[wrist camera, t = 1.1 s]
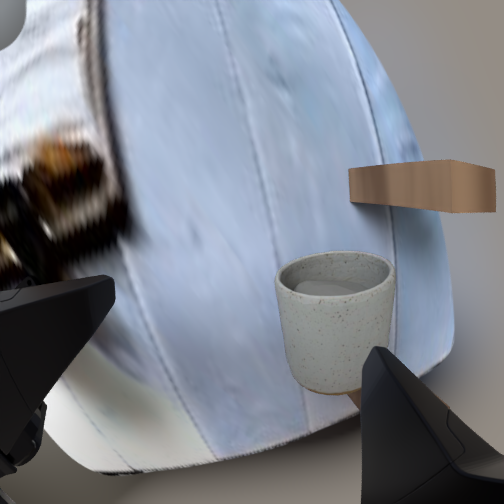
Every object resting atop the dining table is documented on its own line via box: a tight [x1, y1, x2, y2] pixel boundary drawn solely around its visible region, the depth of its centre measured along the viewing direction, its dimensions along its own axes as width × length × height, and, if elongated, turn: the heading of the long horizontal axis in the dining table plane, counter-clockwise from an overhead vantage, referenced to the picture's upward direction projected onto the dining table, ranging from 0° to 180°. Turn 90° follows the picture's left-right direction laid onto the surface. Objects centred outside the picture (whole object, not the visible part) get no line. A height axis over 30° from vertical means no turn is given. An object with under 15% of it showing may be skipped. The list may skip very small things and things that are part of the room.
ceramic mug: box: [274, 251, 396, 395], centre depth 18 cm, size 11×8×8 cm
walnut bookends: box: [348, 160, 496, 410], centre depth 17 cm, size 5×20×10 cm, turn 4°
